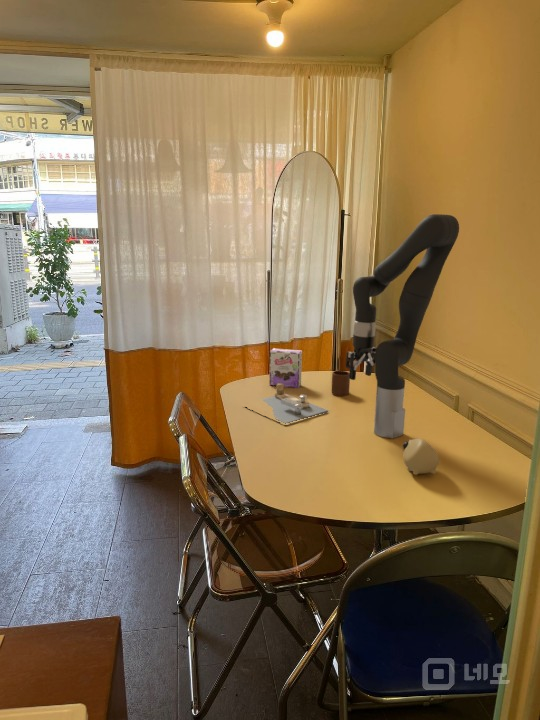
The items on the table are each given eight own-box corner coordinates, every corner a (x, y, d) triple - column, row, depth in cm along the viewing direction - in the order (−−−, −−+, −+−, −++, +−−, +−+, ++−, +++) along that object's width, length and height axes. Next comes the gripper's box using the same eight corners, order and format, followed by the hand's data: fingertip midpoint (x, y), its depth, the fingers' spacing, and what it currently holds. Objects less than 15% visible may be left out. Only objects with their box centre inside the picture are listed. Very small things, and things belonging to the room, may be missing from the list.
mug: (327, 388, 224) (328, 368, 222) (343, 387, 225) (344, 367, 223) (333, 396, 213) (334, 375, 211) (351, 396, 214) (352, 375, 211)
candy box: (268, 385, 228) (269, 350, 223) (272, 382, 233) (272, 347, 229) (298, 388, 224) (299, 352, 219) (301, 384, 229) (302, 349, 225)
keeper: (316, 410, 194) (317, 399, 193) (297, 415, 188) (297, 404, 187) (299, 403, 201) (300, 392, 200) (280, 408, 195) (280, 397, 194)
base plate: (328, 412, 194) (328, 410, 194) (285, 425, 181) (285, 423, 181) (284, 395, 214) (284, 393, 214) (242, 406, 200) (242, 404, 200)
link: (311, 406, 197) (312, 393, 196) (302, 409, 194) (302, 395, 193) (282, 395, 211) (282, 382, 210) (273, 397, 208) (273, 384, 207)
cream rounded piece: (427, 462, 154) (430, 429, 151) (443, 481, 142) (446, 446, 139) (395, 462, 153) (398, 430, 150) (409, 482, 141) (412, 447, 139)
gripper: (358, 338, 169) (355, 383, 174) (385, 333, 178) (381, 376, 183) (342, 334, 175) (339, 378, 179) (369, 329, 184) (365, 371, 188)
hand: (360, 377), depth 181 cm, fingers open, 8 cm apart
